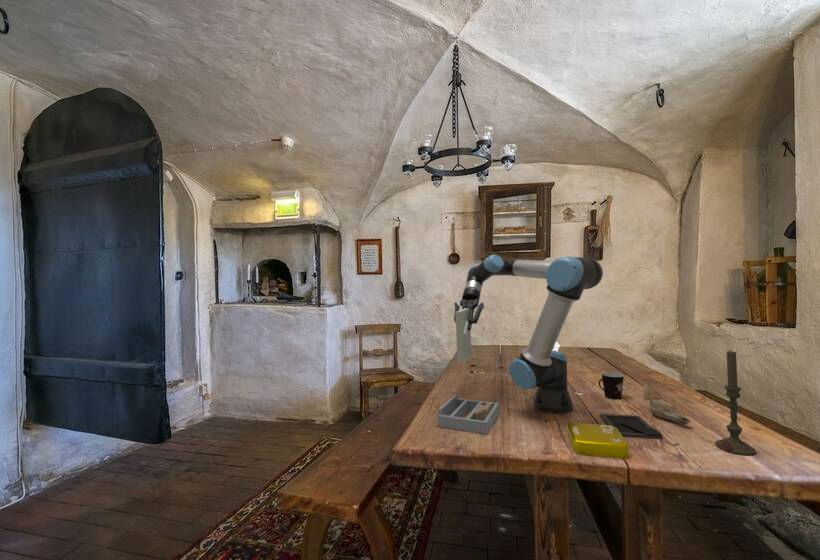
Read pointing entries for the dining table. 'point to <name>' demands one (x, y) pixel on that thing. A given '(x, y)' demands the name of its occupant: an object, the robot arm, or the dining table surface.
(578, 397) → the dining table surface
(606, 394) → the coffee mug
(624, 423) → the picture frame
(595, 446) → the element tile
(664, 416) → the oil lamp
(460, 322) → the sage hardboard sheet
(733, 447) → the candlestick holder
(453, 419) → the offcut rack
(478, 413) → the pine offcut stack
